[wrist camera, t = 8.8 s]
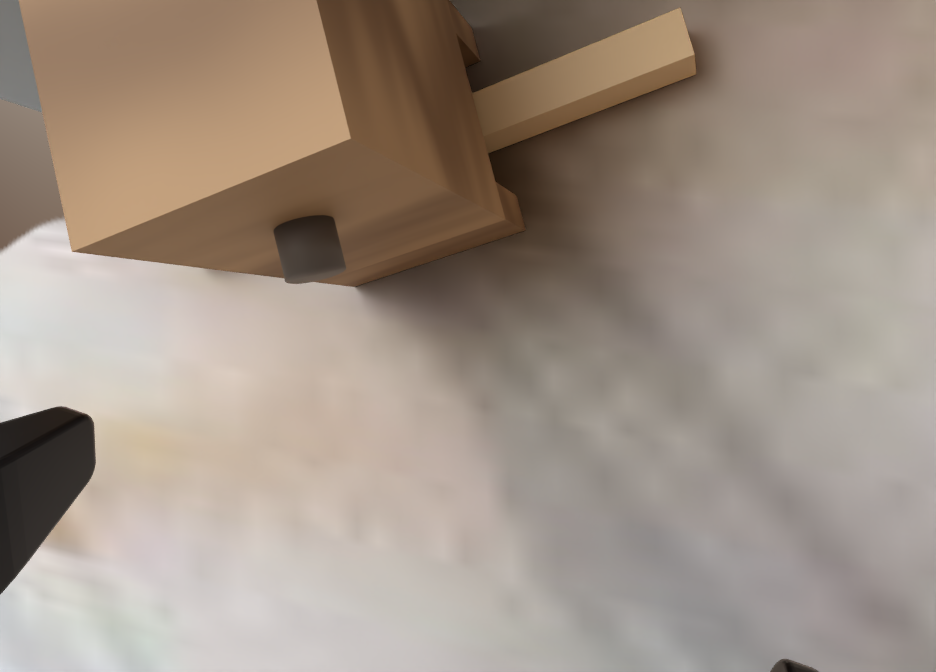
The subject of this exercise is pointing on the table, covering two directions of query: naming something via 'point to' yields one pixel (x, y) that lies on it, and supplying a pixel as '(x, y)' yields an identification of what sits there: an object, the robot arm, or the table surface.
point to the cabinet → (267, 133)
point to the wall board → (498, 106)
